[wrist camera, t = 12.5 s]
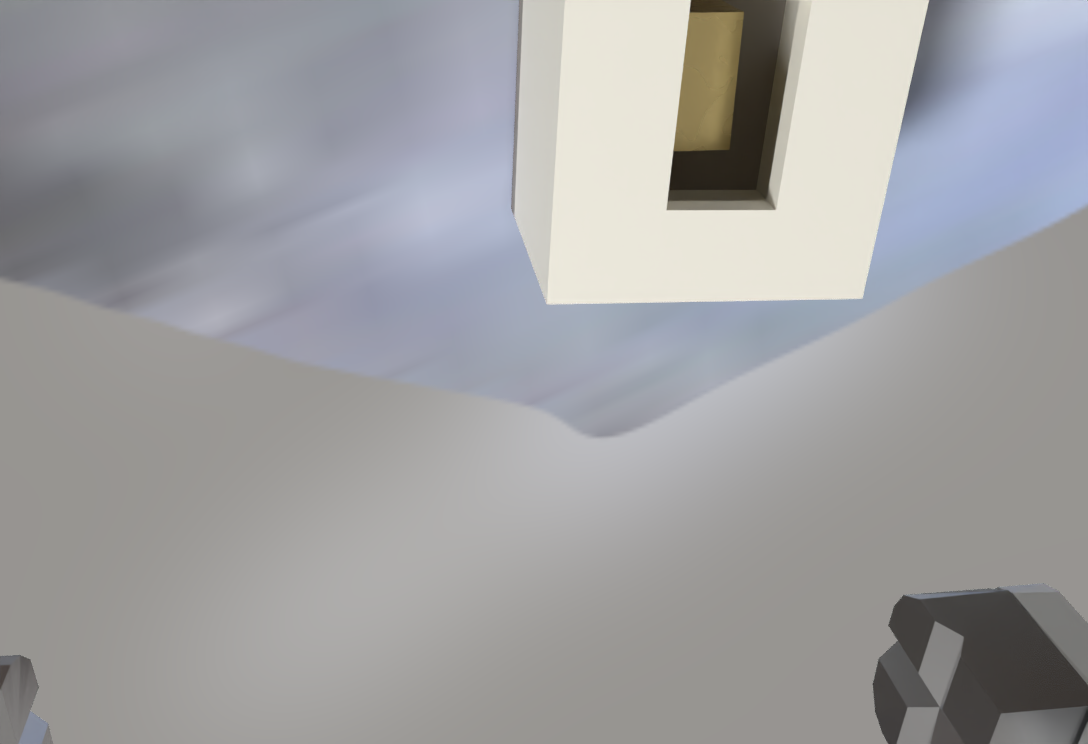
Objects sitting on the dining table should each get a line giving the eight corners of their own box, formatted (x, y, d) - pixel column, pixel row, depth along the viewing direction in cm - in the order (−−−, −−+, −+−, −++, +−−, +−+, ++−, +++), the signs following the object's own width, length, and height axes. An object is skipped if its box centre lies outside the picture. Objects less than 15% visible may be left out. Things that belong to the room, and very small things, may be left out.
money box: (525, -148, 38) (573, -135, 29) (826, -131, 40) (954, -115, 31) (511, 208, 45) (546, 304, 36) (769, 207, 46) (862, 298, 38)
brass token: (642, -9, 40) (676, 12, 36) (703, -10, 40) (744, 12, 36) (634, 116, 42) (665, 151, 38) (692, 115, 43) (729, 149, 38)
